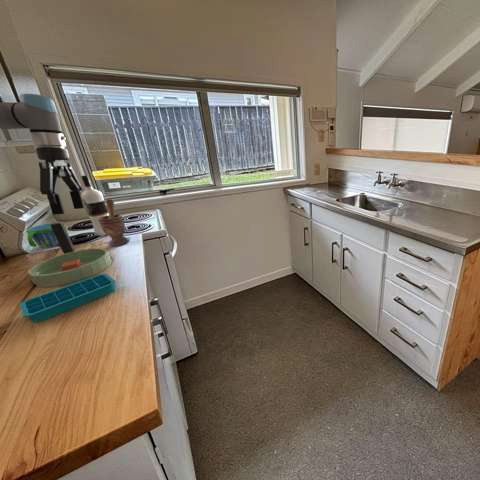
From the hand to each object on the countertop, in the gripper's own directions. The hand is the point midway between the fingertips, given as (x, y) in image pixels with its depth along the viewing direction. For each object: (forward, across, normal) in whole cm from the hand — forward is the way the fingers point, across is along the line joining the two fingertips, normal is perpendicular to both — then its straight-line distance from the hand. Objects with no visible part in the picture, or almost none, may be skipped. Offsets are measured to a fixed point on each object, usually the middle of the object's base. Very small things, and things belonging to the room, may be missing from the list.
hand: (69, 211), depth 91 cm
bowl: (+23, -1, +3) cm, 23 cm away
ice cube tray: (+24, -23, -6) cm, 34 cm away
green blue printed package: (+21, +37, +27) cm, 50 cm away
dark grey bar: (+22, +14, +10) cm, 27 cm away
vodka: (+18, +48, +9) cm, 52 cm away
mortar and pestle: (+20, +28, -3) cm, 34 cm away
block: (+22, -4, +2) cm, 23 cm away
